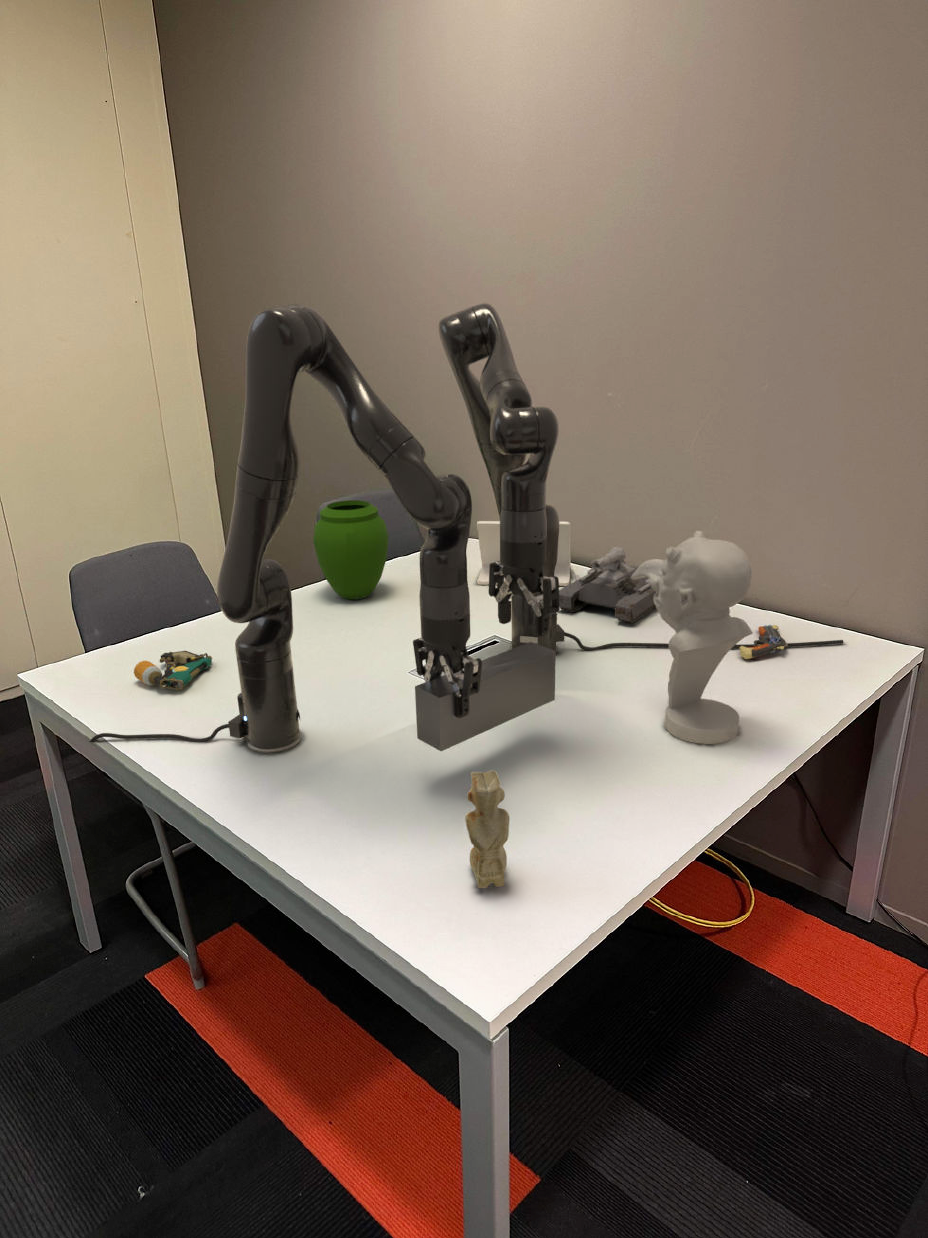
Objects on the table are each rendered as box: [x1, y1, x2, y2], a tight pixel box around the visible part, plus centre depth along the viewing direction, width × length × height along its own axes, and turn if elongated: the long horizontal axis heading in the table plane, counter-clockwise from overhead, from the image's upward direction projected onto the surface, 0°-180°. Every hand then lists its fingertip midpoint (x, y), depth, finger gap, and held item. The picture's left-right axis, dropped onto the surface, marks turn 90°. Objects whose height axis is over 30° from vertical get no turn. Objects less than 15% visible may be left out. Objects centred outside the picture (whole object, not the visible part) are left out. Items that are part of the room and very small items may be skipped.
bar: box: [414, 642, 557, 752], centre depth 140 cm, size 26×6×9 cm, turn 132°
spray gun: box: [133, 650, 213, 690], centre depth 180 cm, size 4×17×15 cm
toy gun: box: [739, 624, 788, 660], centre depth 187 cm, size 3×19×10 cm
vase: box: [312, 499, 389, 601], centre depth 223 cm, size 20×20×24 cm
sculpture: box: [464, 769, 510, 889], centre depth 113 cm, size 6×7×15 cm
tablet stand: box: [476, 520, 572, 587], centre depth 236 cm, size 18×25×17 cm
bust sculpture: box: [631, 530, 754, 745], centre depth 151 cm, size 16×24×35 cm, turn 28°
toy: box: [559, 546, 656, 624], centre depth 212 cm, size 25×20×15 cm
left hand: (448, 709), depth 134 cm, fingers closed on bar, 6 cm apart
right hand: (522, 629), depth 142 cm, fingers open, 8 cm apart
